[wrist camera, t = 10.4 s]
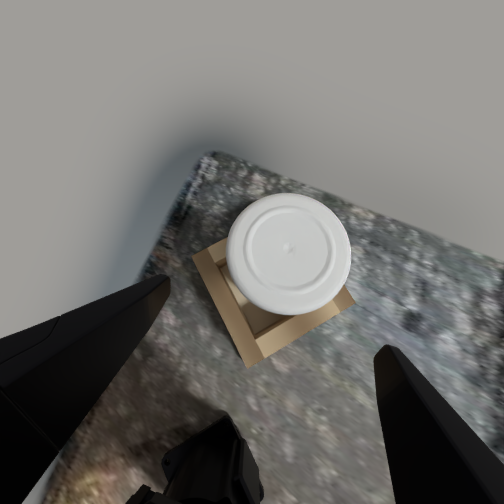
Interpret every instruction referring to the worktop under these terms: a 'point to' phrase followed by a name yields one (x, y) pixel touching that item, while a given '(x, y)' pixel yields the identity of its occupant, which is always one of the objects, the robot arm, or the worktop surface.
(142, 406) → the worktop surface
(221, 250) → the caddy
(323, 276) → the sprinkles bottle
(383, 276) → the worktop surface
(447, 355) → the worktop surface
